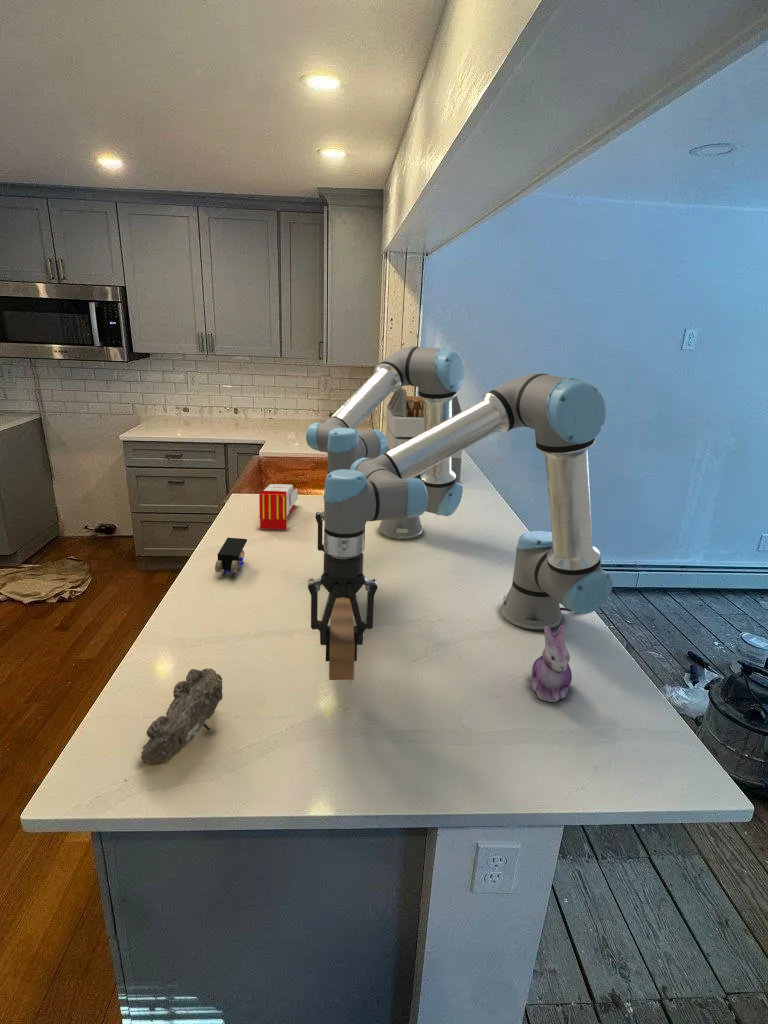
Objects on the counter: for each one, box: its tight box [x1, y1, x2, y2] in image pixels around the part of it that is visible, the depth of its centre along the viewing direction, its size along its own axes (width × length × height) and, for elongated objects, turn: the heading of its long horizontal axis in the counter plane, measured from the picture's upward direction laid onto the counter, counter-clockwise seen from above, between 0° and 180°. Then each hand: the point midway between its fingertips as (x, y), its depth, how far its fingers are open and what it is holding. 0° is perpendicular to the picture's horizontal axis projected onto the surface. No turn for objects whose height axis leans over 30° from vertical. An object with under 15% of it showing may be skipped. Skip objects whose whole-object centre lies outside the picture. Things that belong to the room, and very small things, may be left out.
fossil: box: [140, 667, 224, 767], centre depth 103 cm, size 22×10×15 cm
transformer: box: [385, 386, 463, 483], centre depth 268 cm, size 34×33×41 cm
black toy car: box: [214, 537, 248, 578], centre depth 166 cm, size 7×8×15 cm
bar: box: [328, 597, 355, 681], centre depth 132 cm, size 52×5×8 cm, turn 4°
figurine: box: [530, 624, 573, 703], centre depth 118 cm, size 9×10×15 cm
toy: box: [258, 483, 299, 530], centre depth 210 cm, size 12×13×30 cm
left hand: (340, 573), depth 151 cm, fingers closed on bar, 5 cm apart
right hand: (341, 657), depth 115 cm, fingers closed on bar, 5 cm apart
